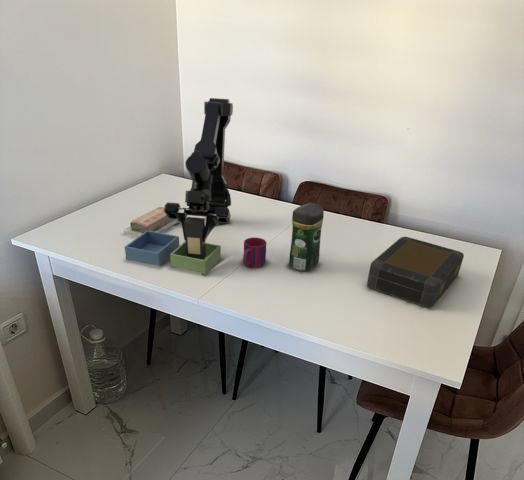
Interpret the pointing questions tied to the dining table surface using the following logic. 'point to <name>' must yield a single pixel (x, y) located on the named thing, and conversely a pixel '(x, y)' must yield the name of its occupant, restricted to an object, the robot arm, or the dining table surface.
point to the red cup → (254, 252)
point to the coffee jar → (306, 236)
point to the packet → (195, 237)
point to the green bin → (194, 264)
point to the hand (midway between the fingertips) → (194, 240)
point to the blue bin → (151, 248)
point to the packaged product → (150, 223)
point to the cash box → (415, 271)
